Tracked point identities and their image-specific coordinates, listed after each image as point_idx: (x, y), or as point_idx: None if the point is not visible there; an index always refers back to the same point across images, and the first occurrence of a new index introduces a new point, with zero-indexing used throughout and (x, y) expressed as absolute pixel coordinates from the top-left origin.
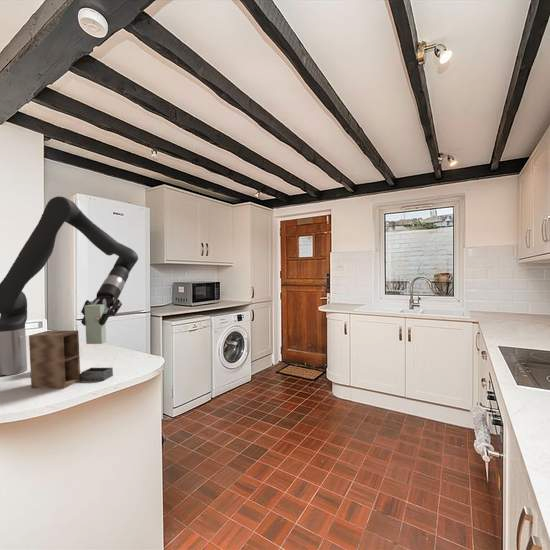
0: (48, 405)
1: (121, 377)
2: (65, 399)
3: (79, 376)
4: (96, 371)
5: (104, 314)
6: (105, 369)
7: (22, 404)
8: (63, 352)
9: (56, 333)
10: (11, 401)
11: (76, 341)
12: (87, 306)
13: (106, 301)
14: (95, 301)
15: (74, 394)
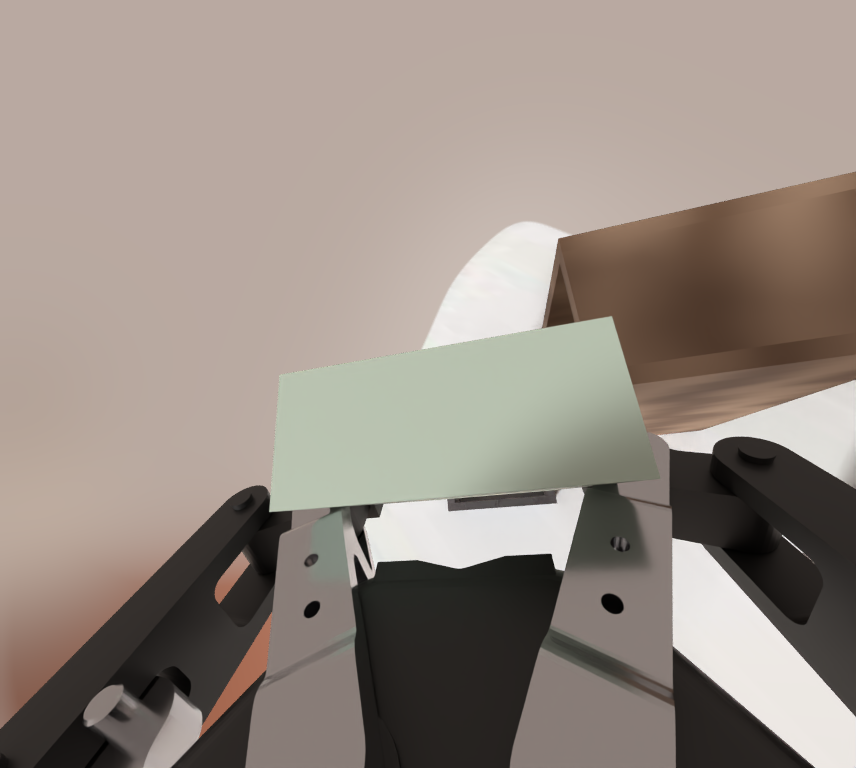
0: (460, 273)
1: None
2: (448, 308)
3: None
4: (521, 497)
5: None
6: (477, 501)
7: (541, 259)
8: (548, 311)
9: (677, 267)
10: None
11: None
12: (535, 337)
13: (268, 735)
14: (641, 701)
15: (452, 338)
